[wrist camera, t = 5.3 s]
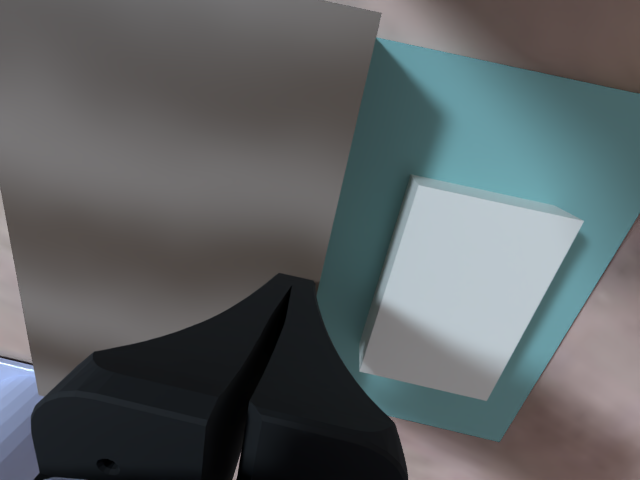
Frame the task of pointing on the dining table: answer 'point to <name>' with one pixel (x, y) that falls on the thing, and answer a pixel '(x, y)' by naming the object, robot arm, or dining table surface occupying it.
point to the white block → (461, 285)
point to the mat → (486, 174)
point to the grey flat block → (169, 158)
